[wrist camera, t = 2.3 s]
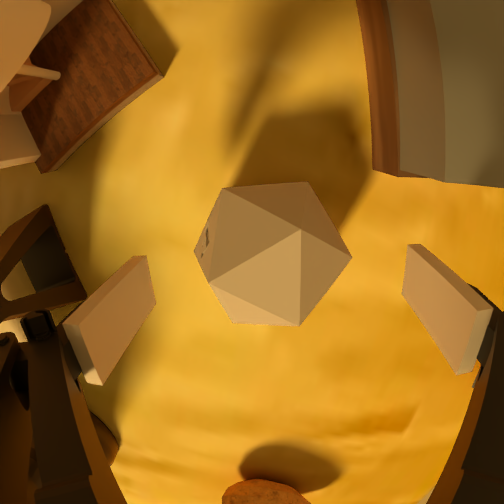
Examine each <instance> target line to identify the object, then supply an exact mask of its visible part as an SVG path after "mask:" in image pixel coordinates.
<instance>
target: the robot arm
mask: <svg viewBox="0 0 504 504" xmlns="http://www.w3.org/2000/svg"><path fill="white" fill-rule="evenodd" d="M402 295H403V297H404V298H405V299H406V301H407V302H408V304H409V305H410V306H411V308H412V309H413V311H414V312H415V313H416V315H417V316H418V318H419V319H420V321H421V322H422V323H423V325H424V326H425V328H426V329H427V331H428V332H429V334H430V335H431V337H432V338H433V340H434V341H435V343H436V344H437V346H438V347H439V349H440V350H441V352H442V353H443V355H444V357H445V358H446V360H447V361H448V363H449V364H450V366H451V368H452V369H453V371H454V372H455V374H456V375H460V374H464V373H468V372H472V370H473V367H474V365H475V362H476V359H478V361H479V362H480V363H481V367H480V369H479V372H478V374H477V377H476V379H475V381H474V383H473V386H472V388H474V390H473V393H472V396H471V400H470V403H469V406H468V409H467V412H466V415H465V418H464V421H463V423H462V426H461V429H460V432H459V434H458V437H457V439H456V442H455V444H454V447H453V449H452V452H451V454H450V456H449V459H448V461H447V463H446V465H445V467H444V470H443V472H442V474H441V476H440V478H439V480H438V482H437V484H436V486H435V488H434V490H433V492H432V494H431V496H430V498H429V499H428V501H427V503H426V504H504V311H503V312H502V311H501V310H500V309H499V308H498V307H497V306H496V305H495V304H494V303H492V302H491V301H490V300H488V298H487V297H486V296H485V295H483V293H482V292H481V291H479V290H478V289H477V288H476V287H474V286H472V285H470V284H468V283H466V282H465V281H464V280H462V279H461V278H460V277H459V276H458V275H457V274H456V273H454V272H453V271H452V270H451V269H450V268H449V267H448V266H446V265H445V264H444V263H443V262H442V261H441V260H439V259H438V258H437V257H436V256H435V255H433V254H432V253H431V252H430V251H428V250H427V249H426V248H425V247H424V246H422V245H421V244H411V245H408V246H407V256H406V265H405V274H404V281H403V289H402ZM155 304H156V301H155V296H154V291H153V287H152V282H151V277H150V272H149V267H148V262H147V257H146V256H133V257H132V258H131V259H130V260H128V261H127V262H126V263H125V264H124V265H123V266H122V267H121V268H120V269H119V270H117V271H116V272H115V273H114V274H113V275H112V276H111V277H110V278H109V279H108V280H107V281H106V282H105V283H103V284H102V285H101V286H100V287H99V288H98V289H97V290H96V291H95V292H94V293H93V294H92V295H91V296H90V297H89V298H88V299H87V300H85V301H83V302H82V303H80V304H79V305H78V306H77V307H76V308H75V309H74V310H73V311H72V312H71V313H70V314H68V316H66V317H65V318H64V319H63V320H62V321H61V322H60V323H59V324H58V325H57V326H56V327H55V324H54V321H53V319H52V316H51V313H50V311H49V310H48V309H37V310H34V311H31V312H29V313H28V314H26V315H25V316H24V317H23V318H22V319H21V321H20V323H21V325H22V328H23V330H24V332H25V335H26V337H27V339H28V342H21V343H19V342H18V340H17V338H16V336H15V334H14V333H12V332H6V333H1V334H0V504H127V502H126V500H125V498H124V496H123V494H122V492H121V490H120V488H119V486H118V484H117V482H116V479H115V477H114V475H113V473H112V471H111V468H110V466H111V465H112V463H113V462H114V459H115V457H116V455H117V452H118V445H117V442H116V440H115V438H114V436H113V435H112V433H111V432H110V431H109V429H108V428H107V427H106V426H105V425H104V424H103V423H102V422H101V421H100V420H99V419H98V418H97V417H96V416H95V415H94V414H92V413H91V412H90V411H89V410H88V407H87V404H86V400H85V397H84V394H83V391H82V387H81V384H80V382H79V380H78V378H77V377H78V376H79V375H80V373H81V372H82V373H83V375H84V377H85V379H86V381H87V383H91V384H96V385H102V386H103V385H104V383H105V381H106V380H107V378H108V377H109V375H110V373H111V372H112V370H113V369H114V367H115V365H116V364H117V362H118V361H119V359H120V358H121V356H122V354H123V353H124V351H125V350H126V348H127V347H128V345H129V344H130V342H131V341H132V339H133V338H134V336H135V334H136V333H137V331H138V330H139V328H140V327H141V325H142V324H143V322H144V321H145V319H146V318H147V316H148V315H149V313H150V312H151V310H152V309H153V307H154V306H155Z"/></svg>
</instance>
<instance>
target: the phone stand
mask: <svg viewBox="0 0 504 504" xmlns="http://www.w3.org/2000/svg"><path fill="white" fill-rule="evenodd" d="M20 259H21V260H22V263H23V265H24V267H25V269H26V271H27V274H28V276H29V278H30V280H31V282H32V284H33V286H34V288H35V290H36V294H32V295H29V296H26V297H22V298H19V299H16V300H13V301H8V300H6V299H5V298H4V297H3V295H2V293H1V284H2V282H3V281H4V279H5V278H6V277H7V275H8V274H9V273H10V272H11V270H12V269H13V268H14V267H15V265H16V264H17V263H18V262H19V260H20ZM86 298H87V294H86V292H85V290H84V288H83V286H82V284H81V282H80V280H79V278H78V275H77V273H76V271H75V269H74V267H73V265H72V263H71V260H70V258H69V256H68V254H67V253H66V252H65V247H64V244H63V242H62V240H61V237H60V235H59V232H58V230H57V227H56V225H55V222H54V220H53V217H52V215H51V212H50V209H49V207H48V205H47V204H44V205H43V206H41V207H39V208H38V209H36V210H35V211H33V212H31V213H30V214H28V215H27V216H25V217H23V218H22V219H20V220H19V221H17V222H16V223H14V224H13V225H11V226H10V227H8V228H7V229H6V231H5V232H4V233H3V234H2V236H1V237H0V323H1V322H2V321H7V320H11V319H15V318H20V317H24V316H25V315H26V314H28V313H29V312H31V311H34V310H37V309H48V310H52V309H55V308H59V307H62V306H65V305H69V304H72V303H75V302H78V301H82V300H85V299H86Z"/></svg>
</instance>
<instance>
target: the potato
mask: <svg viewBox="0 0 504 504" xmlns="http://www.w3.org/2000/svg"><path fill="white" fill-rule="evenodd" d="M222 504H311V503H310V502H308V501H307V500H306V499H305V498H304V497H303V496H302V495H301V494H300V493H298V492H297V491H296V490H295V489H294V488H292V487H290V486H288V485H285V484H281V483H277V482H273V481H269V480H263V479H252V480H246V481H241V482H238V483H236V484H234V485H232V486H230V487H228V488H227V490H226V492H225V493H224V495H223V496H222Z"/></svg>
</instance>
